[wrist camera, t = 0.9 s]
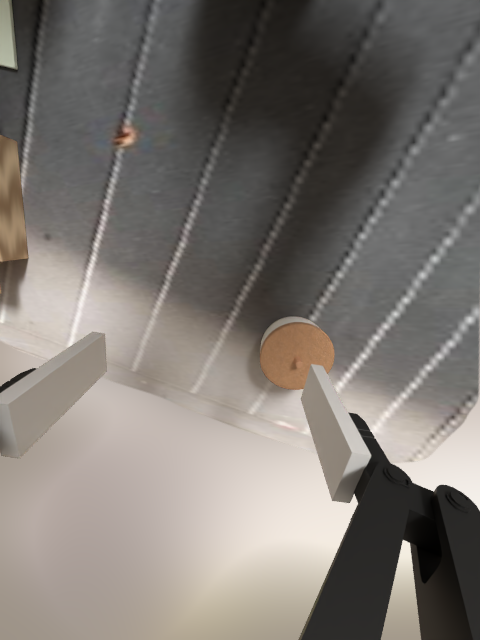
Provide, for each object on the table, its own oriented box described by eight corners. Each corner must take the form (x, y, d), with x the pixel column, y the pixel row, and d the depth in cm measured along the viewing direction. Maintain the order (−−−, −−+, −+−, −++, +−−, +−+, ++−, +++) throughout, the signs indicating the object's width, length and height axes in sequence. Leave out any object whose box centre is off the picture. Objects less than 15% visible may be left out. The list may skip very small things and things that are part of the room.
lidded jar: (260, 366, 45) (263, 399, 36) (255, 310, 41) (257, 332, 33) (319, 361, 44) (337, 394, 36) (319, 304, 41) (340, 325, 32)
